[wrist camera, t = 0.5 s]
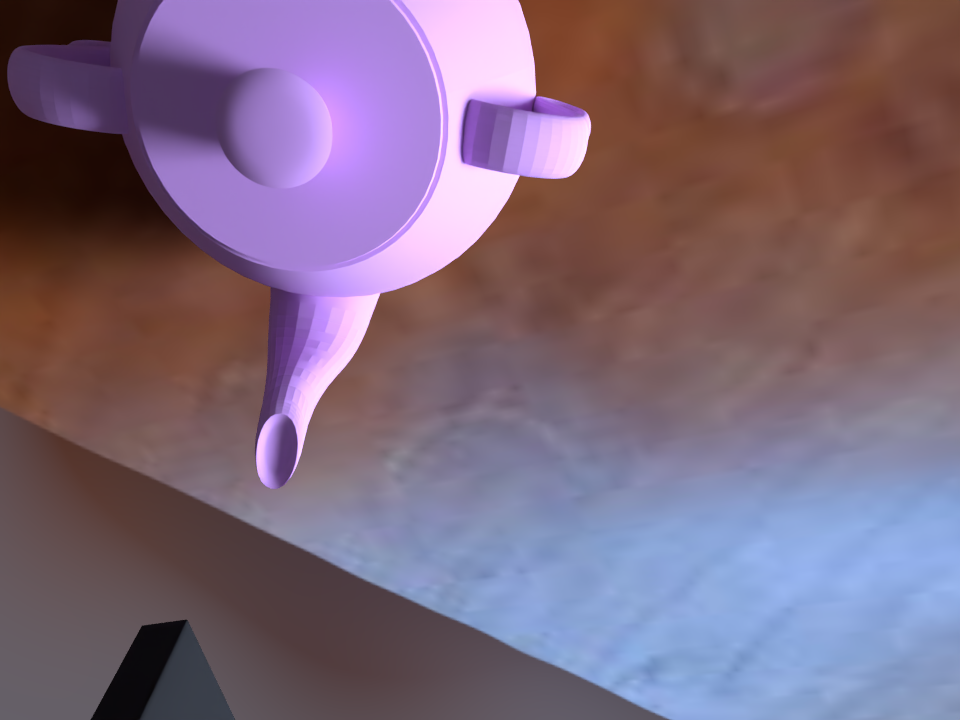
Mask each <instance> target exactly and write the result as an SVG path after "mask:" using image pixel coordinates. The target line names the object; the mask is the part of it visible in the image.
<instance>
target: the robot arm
mask: <svg viewBox="0 0 960 720" xmlns="http://www.w3.org/2000/svg"><path fill="white" fill-rule="evenodd" d="M91 720H235V718H234V716H233V714H232V712H231V710H230V708H229V706H228V704H227V702H226V699H225V697H224V695H223V693H222V691H221V689H220V687H219V685H218V683H217V681H216V679H215V677H214V674H213V672H212V670H211V668H210V666H209V664H208V662H207V660H206V658H205V656H204V654H203V652H202V649H201V647H200V645H199V643H198V641H197V639H196V637H195V635H194V633H193V631H192V628H191V627H190V624H189V622H188V620H180V621H173V622H166V623H159V624H151V625H144V626H142V627H141V629H140V630H139V632H138V634H137V636H136V638H135V640H134V641H133V643H132V645H131V647H130V649H129V651H128V652H127V654H126V656H125V658H124V660H123V662H122V663H121V665H120V667H119V669H118V671H117V673H116V674H115V676H114V678H113V680H112V682H111V684H110V686H109V687H108V689H107V691H106V693H105V695H104V696H103V698H102V700H101V702H100V704H99V706H98V708H97V709H96V711H95V713H94V715H93V717H92V719H91Z"/></svg>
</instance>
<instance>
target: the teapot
mask: <svg viewBox="0 0 960 720" xmlns="http://www.w3.org/2000/svg"><path fill="white" fill-rule="evenodd" d="M7 79H8V85H9V90H10V93H11V96H12V98H13V100H14V102H15V104H16V105H17V107H18V108H19V109H20V110H21V112H23V113H24V114H26V115H27V116H29V117H31V118H33V119H36V120H39V121H43V122H47V123H50V124H55V125H59V126H64V127H69V128H75V129H81V130H88V131H95V132H104V133H113V134H122V136H123V139H124V142H125V145H126V147H127V149H128V152H129V154H130V156H131V159H132V161H133V163H134V166H135V168H136V170H137V171H138V173H139V175H140V177H141V179H142V180H143V182H144V184H145V186H146V187H147V189H148V191H149V192H150V194H151V195H152V197H153V198H154V199H155V201H156V202H157V204H158V205H159V206H160V208H161V209H162V210H163V212H164V213H165V214H166V215H167V216H168V218H169V219H170V220H171V221H172V222H173V223H174V224H175V225H176V226H177V228H178V229H179V230H180V231H181V232H182V233H183V234H184V235H185V236H187V237H188V238H189V239H190V240H191V241H192V242H193V243H194V244H196V245H197V246H198V247H199V248H200V249H201V250H203V251H204V252H205V253H207V254H208V255H210V256H211V257H212V258H214V259H215V260H217V261H218V262H219V263H221V264H223V265H224V266H226V267H228V268H230V269H232V270H233V271H235V272H237V273H239V274H241V275H242V276H244V277H247V278H249V279H252V280H254V281H256V282H259V283H261V284H264V285H266V286H270V287H271V302H270V315H269V333H268V363H267V377H266V385H265V392H264V398H263V404H262V409H261V413H260V418H259V423H258V428H257V434H256V443H255V458H256V467H257V471H258V475H259V477H260V479H261V481H262V482H263V484H264V485H265V486H266V487H269V488H272V489H275V488H280V487H281V486H283V485H285V483H286V482H287V481H288V480H289V479H290V477H291V476H292V474H293V472H294V470H295V468H296V466H297V463H298V460H299V458H300V454H301V451H302V447H303V443H304V439H305V435H306V431H307V427H308V423H309V421H310V418H311V416H312V413H313V410H314V408H315V406H316V404H317V402H318V401H319V399H320V397H321V395H322V394H323V392H324V391H325V390H326V388H327V387H328V385H329V384H330V383H331V382H332V381H333V380H334V378H335V377H336V376H337V375H338V374H339V373H340V372H341V370H342V369H343V368H344V367H345V366H346V364H347V363H348V362H349V361H350V359H351V358H352V357H353V355H354V353H355V352H356V350H357V349H358V347H359V345H360V343H361V341H362V339H363V337H364V335H365V332H366V329H367V327H368V324H369V321H370V318H371V316H372V313H373V311H374V308H375V305H376V303H377V300H378V297H379V295H380V293H383V292H388V291H392V290H395V289H398V288H401V287H404V286H406V285H409V284H412V283H415V282H417V281H419V280H421V279H423V278H425V277H427V276H429V275H430V274H432V273H434V272H436V271H438V270H440V269H441V268H443V267H444V266H446V265H447V264H449V263H450V262H452V261H453V260H454V259H456V258H457V257H459V256H460V255H461V254H462V253H463V252H464V251H466V250H467V249H468V248H469V247H470V246H471V245H472V244H473V243H474V242H476V241H477V240H478V238H479V237H480V236H481V235H482V234H483V233H484V231H485V230H486V229H487V228H488V227H489V226H490V224H491V223H492V222H493V221H494V220H495V218H496V217H497V215H498V214H499V212H500V211H501V209H502V207H503V206H504V204H505V203H506V201H507V200H508V198H509V196H510V194H511V192H512V190H513V188H514V186H515V184H516V182H517V180H518V178H519V176H527V177H536V178H552V179H556V178H566V177H569V176H571V175H572V174H573V173H575V172H576V170H577V169H578V168H579V166H580V165H581V163H582V161H583V158H584V156H585V152H586V149H587V143H588V138H589V135H590V129H591V123H590V119H589V116H588V114H587V113H586V112H585V111H584V110H582V109H580V108H577V107H575V106H572V105H569V104H566V103H564V102H560V101H557V100H553V99H549V98H545V97H536V86H535V67H534V59H533V53H532V47H531V42H530V36H529V32H528V29H527V26H526V22H525V19H524V16H523V13H522V9H521V6H520V4H519V1H518V0H118V2H117V7H116V11H115V16H114V20H113V25H112V36H111V42H106V41H96V40H77V41H73V42H71V43H70V44H68V45H27V46H20V47H18V48H16V49H15V50H14V51H13V52H12V54H11V56H10V58H9V62H8V69H7Z"/></svg>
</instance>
